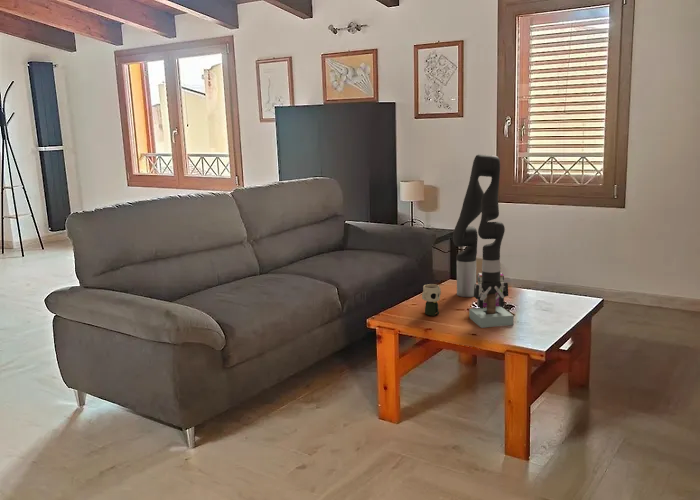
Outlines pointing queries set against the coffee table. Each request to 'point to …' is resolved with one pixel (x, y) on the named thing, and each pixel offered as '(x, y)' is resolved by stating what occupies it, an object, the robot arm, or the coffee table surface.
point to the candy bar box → (486, 295)
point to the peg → (491, 303)
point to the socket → (491, 317)
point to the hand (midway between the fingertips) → (491, 307)
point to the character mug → (431, 298)
